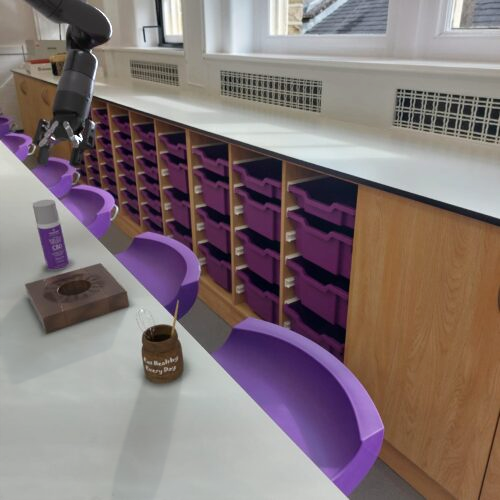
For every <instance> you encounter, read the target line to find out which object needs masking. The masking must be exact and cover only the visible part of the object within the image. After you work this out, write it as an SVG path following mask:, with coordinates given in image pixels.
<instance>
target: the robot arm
mask: <svg viewBox="0 0 500 500" xmlns="http://www.w3.org/2000/svg"><path fill="white" fill-rule="evenodd" d="M22 1H23V2H24V3H26V4H27V5H28V6H30V7H31V8H32V9H34V10H35V11H36V12H38V13H39V14H40V15H42V16H43V17H45V18H46V19H47V20H48V21H50V22H52V23H54V24H56V25H57V24H58V25H60V24H62V25H63V24H64V25H67V28H66V31H65V58H64V59H65V60H64V64H63V67H62V71H61V75H60V77H59V79H58V83H57V86H56V90H55V94H54V98H53V104H52V106H51V113H52V118H51V119H50V120H45V119H44V118H40V119H39V120H38V123H37V127H36V131H35V133H34V137H33V140H32V143H33V144H34V145H35V146H37V147H39V149H38V153H37V157H36V162H37V164H38V165H39V166H41V167H47V166H48V164H49V158H50V156H51V149H53V147H54V146H57V145H59V143H60V142H71V143H72V145H73V147H74V148H72V150H71V154H70V158H69V162H68V163H69V166H70V167H72V168H74V169H78V168H79V167H80V165H81V163H82V159H83V155H84V153H85V152H86V151H87V150H91V151H92V150H93V149H94V145H95V138H96V134H97V133H96V132H97V128H98V127H97V124H96V123H95V122H93V121H92V120H91V119H89V114H90V109H91V105H92V101H93V97H94V89H95V88H94V87H95V83H96V79H97V73H98V69H99V61H98V58H97V57H96V55H94V54H93V53H92V52H93V50H94V48H97V47H100V46H103V45H104V44H106V43H108V42H109V41H110V40H111V39H112V37H113V26H112V24H111V22H110V20H109V18H108V17H107V16H106V15H105V13H104V12H102V11H101V10H100V9H99V8H97V7H95V6H93V5H91V4H90V3H88V2H86V1H84V0H22ZM81 133H83V134H81Z"/></svg>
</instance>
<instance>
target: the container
mask: <svg viewBox="0 0 500 500" xmlns="http://www.w3.org/2000/svg"><path fill="white" fill-rule="evenodd" d="M32 209H33V213H34V218H35V222H36V223H35V224H36V229H37V233H38V236H39V241H40V244H41V249H42V252H43V257H44V261H45V265H46V269H47V270H48V271H52V272H53V271H54V272H55V271H56V272H57V271H61V270H63V269H66V268H67V267H69V265H70V262H69V258H68V252H67V247H66V241H65V238H64V234H63V229H62V224H61V220H60V216H59V212H58V208H57V204H56V200H54V199H42V200H38V201H35V202H32Z"/></svg>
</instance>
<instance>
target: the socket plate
mask: <svg viewBox="0 0 500 500" xmlns="http://www.w3.org/2000/svg"><path fill="white" fill-rule="evenodd" d="M24 287H25V291H26V294H27V298H28V300H29V302H30V304H31V306H32V308H33V310H34V312H35V314H36V317H37V318H38V320H39V322H40V324H41V326H42V328H43V330H44V332H45V334H47V335H48V334H51V333H54V332H56V331H60V330H63V329H67V328H68V327H71V326H75V325H77V324H81V323H83V322H87V321H90V320H92V319H95V318H99V317H101V316H104V315H107V314H111V313H114V312H116V311H120V310H122V309H126V308H128V307H130V302H129V296H128V291H127V290H126V289H125V287H124V286H122V284H121V283H120V282H119V281H118V280H117V279H116V278H115V277H114V275H113V274H111V272H110V271H109V270H108V269H107V268H106V267H105V266H104V264H103V263H102V262H99V263H95V264H92V265H89V266H85V267H81V268H78V269H74V270H70V271H67V272H63V273H59V274H57V275H52V276H49V277H45V278H42V279H38V280H34V281H31V282H27V283H25V284H24Z"/></svg>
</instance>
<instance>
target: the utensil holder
mask: <svg viewBox="0 0 500 500" xmlns="http://www.w3.org/2000/svg"><path fill="white" fill-rule="evenodd" d="M179 302H180V300H179V299H177V302H176V306H175V311H174V317H173V322H172V325H171V324H164V323H161V324H156V322H152V323H151V322H150V321H149V320H150V319H149V316H148V315H147V313H146V312H147V311H148V309H147V308H146V309H145V308H143V309H139V311H138V313H136V314H135V316H136V318H135V320H136V323H137V325H138V327H139V329H140V331H141V332H142V334H141V335H142V336H141V343H142V345H141V359H142V365H143V370H144V374H145V377H146V379H148V381H150V382H152V383H155V384H166V383H171V382H173V381H175V380H177V379H178V378H180V376H182V375H183V372H184V367H185V365H184V364H185V363H184V355H183V348H182V342H181V341H180V339H179V334H178V331H177V329H176V323H177V316H178V311H179V310H178V309H179ZM142 312H143V313H144V315H145V316H146V319H147V323H148V326H149V327H148V328H147V329H146V325H145V324H144V320H143V319H142V318H143V315H142V314H141V313H142ZM148 313H149V314H150V318H151V319H152V320H151V321H154V317H153V315H152V314H151V312H150V311H148ZM140 315H141V316H140ZM138 317H139V318H138ZM138 319H140V321H141V324H142V326H143V327H144V331H143V329H142V328H141V326H140V323H139V321H138ZM152 324H153V325H152Z"/></svg>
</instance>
